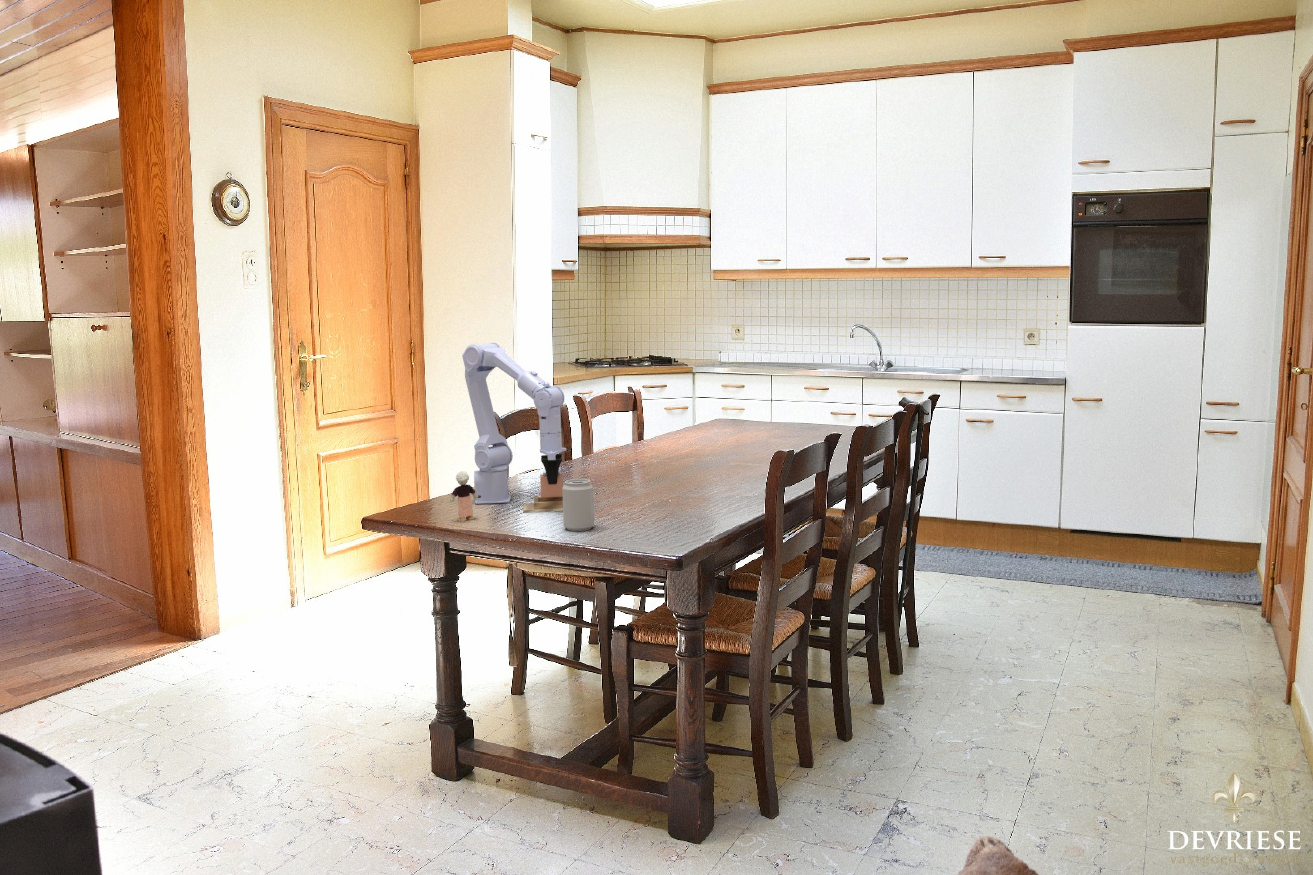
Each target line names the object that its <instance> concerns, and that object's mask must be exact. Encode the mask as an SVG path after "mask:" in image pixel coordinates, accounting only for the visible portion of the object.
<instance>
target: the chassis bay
mask: <svg viewBox="0 0 1313 875" xmlns="http://www.w3.org/2000/svg"><path fill="white" fill-rule="evenodd" d="M522 511H523V512H522V513H524V514H525V513H546V512H563V496H561V497H541V496H533V502H532V503H523V510H522Z"/></svg>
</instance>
